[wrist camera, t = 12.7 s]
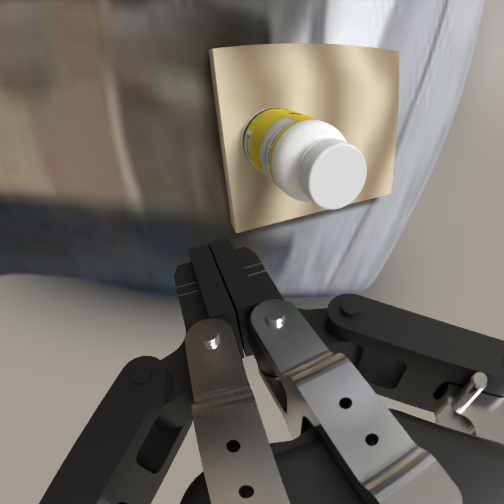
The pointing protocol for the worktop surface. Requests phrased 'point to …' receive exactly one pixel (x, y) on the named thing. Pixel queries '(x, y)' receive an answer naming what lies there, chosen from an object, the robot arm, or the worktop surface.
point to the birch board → (307, 103)
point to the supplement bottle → (304, 157)
